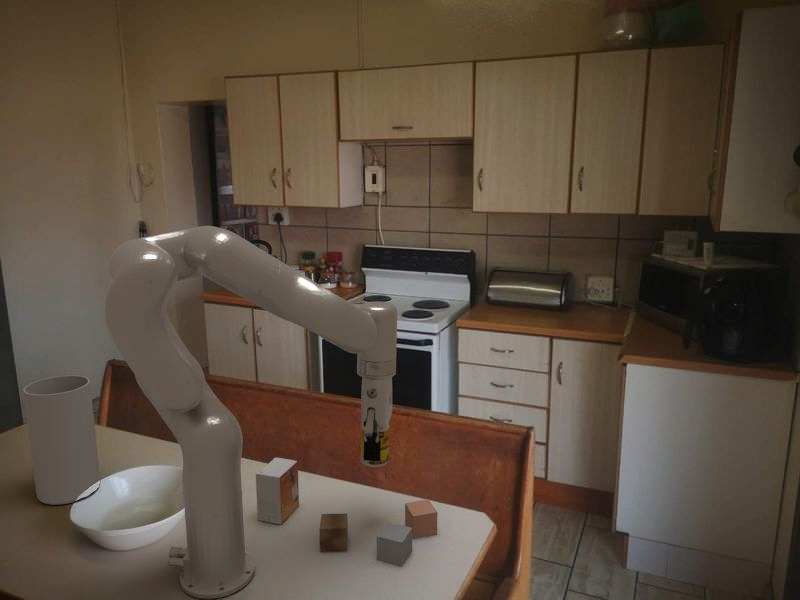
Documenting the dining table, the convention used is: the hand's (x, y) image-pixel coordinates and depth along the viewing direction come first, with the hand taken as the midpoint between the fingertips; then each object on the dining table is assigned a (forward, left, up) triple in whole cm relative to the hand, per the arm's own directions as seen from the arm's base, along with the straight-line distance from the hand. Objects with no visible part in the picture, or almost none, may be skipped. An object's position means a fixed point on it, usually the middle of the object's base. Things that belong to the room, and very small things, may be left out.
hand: (374, 452), depth 121 cm
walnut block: (-6, -9, -15) cm, 19 cm away
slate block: (+6, -11, -15) cm, 19 cm away
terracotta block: (+10, -2, -15) cm, 18 cm away
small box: (-20, 0, -16) cm, 26 cm away
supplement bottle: (0, 0, -2) cm, 2 cm away
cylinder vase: (-69, +2, -16) cm, 71 cm away
